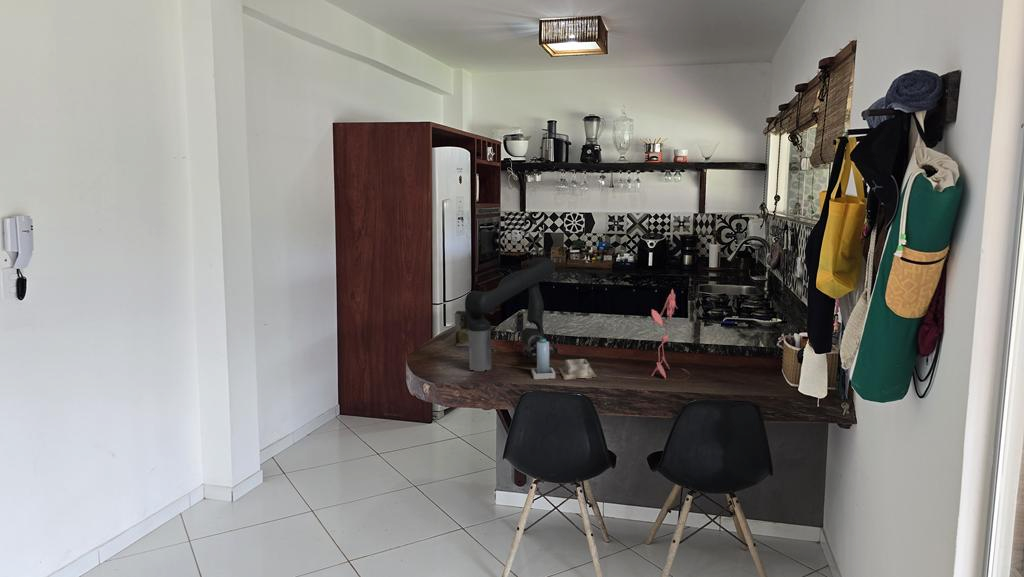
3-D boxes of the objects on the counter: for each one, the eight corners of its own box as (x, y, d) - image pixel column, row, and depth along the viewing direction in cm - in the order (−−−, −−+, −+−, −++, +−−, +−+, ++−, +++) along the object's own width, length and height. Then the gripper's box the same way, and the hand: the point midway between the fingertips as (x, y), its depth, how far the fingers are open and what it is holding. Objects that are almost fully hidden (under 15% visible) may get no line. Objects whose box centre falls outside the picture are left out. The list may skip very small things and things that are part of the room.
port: (564, 379, 284) (564, 367, 283) (559, 370, 297) (558, 358, 296) (596, 378, 285) (596, 365, 284) (589, 368, 298) (589, 357, 297)
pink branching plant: (644, 381, 278) (648, 294, 272) (658, 364, 302) (661, 283, 295) (684, 386, 272) (688, 297, 266) (695, 369, 296) (699, 286, 289)
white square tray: (534, 379, 285) (534, 374, 285) (531, 373, 293) (531, 368, 293) (555, 378, 286) (555, 373, 285) (552, 372, 294) (552, 367, 294)
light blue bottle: (538, 377, 287) (537, 341, 284) (536, 374, 292) (535, 338, 289) (550, 377, 287) (549, 340, 285) (548, 373, 292) (548, 337, 290)
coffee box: (476, 343, 345) (475, 310, 342) (474, 346, 338) (473, 313, 336) (457, 343, 346) (456, 310, 343) (455, 346, 339) (454, 313, 336)
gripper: (520, 337, 305) (525, 346, 289) (553, 336, 306) (559, 345, 290) (521, 354, 306) (525, 364, 290) (553, 352, 307) (559, 363, 292)
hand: (542, 355), depth 290 cm, fingers open, 8 cm apart
